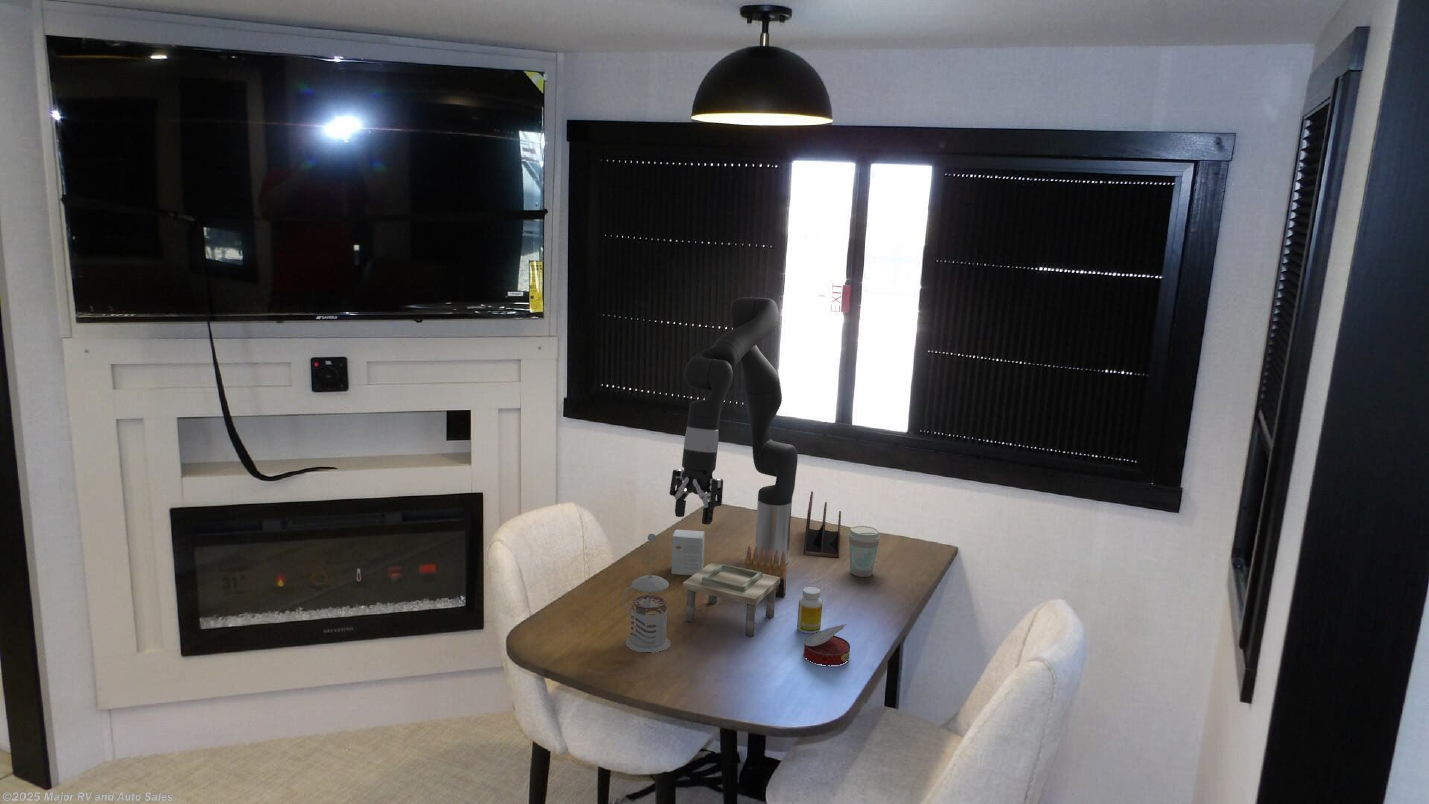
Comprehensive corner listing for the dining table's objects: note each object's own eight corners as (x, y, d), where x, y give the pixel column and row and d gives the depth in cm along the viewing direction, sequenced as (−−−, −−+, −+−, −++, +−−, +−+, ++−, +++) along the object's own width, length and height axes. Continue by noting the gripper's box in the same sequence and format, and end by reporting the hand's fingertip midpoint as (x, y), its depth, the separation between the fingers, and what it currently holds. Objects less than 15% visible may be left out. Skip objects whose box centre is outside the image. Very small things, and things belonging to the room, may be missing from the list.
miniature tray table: (709, 599, 236) (711, 557, 233) (777, 615, 228) (780, 572, 226) (681, 621, 222) (683, 577, 220) (752, 639, 215) (755, 594, 213)
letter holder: (803, 555, 269) (806, 507, 267) (806, 532, 289) (809, 487, 286) (838, 558, 268) (842, 510, 265) (840, 535, 287) (843, 490, 285)
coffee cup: (841, 575, 255) (844, 532, 253) (849, 565, 263) (852, 523, 261) (873, 581, 252) (876, 537, 250) (880, 570, 260) (884, 528, 258)
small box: (703, 569, 255) (705, 531, 253) (701, 576, 250) (703, 538, 248) (673, 566, 256) (675, 528, 254) (670, 574, 251) (672, 535, 249)
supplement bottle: (792, 626, 222) (795, 587, 221) (812, 623, 225) (815, 584, 223) (804, 635, 218) (807, 596, 216) (824, 632, 220) (827, 592, 218)
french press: (653, 657, 204) (657, 545, 199) (609, 642, 210) (612, 533, 205) (679, 641, 212) (683, 533, 207) (636, 627, 218) (640, 521, 213)
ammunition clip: (785, 595, 240) (788, 550, 238) (783, 598, 238) (786, 552, 236) (744, 588, 243) (746, 543, 241) (742, 591, 241) (744, 546, 239)
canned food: (823, 688, 204) (809, 654, 200) (801, 662, 213) (787, 629, 208) (867, 659, 207) (854, 626, 202) (843, 635, 215) (830, 602, 211)
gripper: (735, 453, 211) (727, 526, 212) (690, 443, 221) (682, 513, 222) (711, 453, 206) (703, 528, 207) (666, 443, 216) (658, 514, 217)
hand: (692, 520), depth 214 cm, fingers open, 8 cm apart
